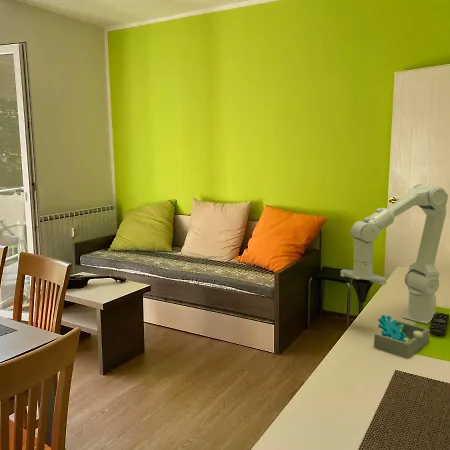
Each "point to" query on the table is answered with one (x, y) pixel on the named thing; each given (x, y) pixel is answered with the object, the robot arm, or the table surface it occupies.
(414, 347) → the housing
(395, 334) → the gear
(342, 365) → the table surface
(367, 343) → the table surface
